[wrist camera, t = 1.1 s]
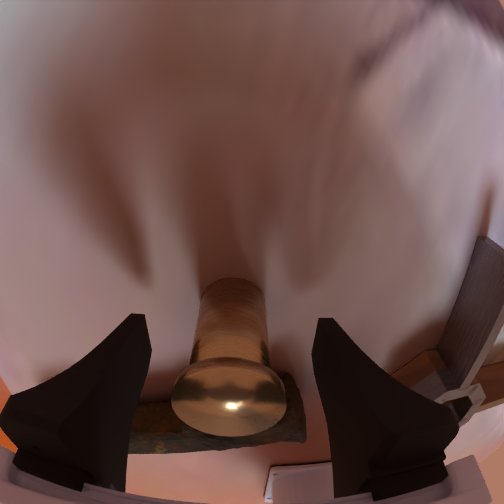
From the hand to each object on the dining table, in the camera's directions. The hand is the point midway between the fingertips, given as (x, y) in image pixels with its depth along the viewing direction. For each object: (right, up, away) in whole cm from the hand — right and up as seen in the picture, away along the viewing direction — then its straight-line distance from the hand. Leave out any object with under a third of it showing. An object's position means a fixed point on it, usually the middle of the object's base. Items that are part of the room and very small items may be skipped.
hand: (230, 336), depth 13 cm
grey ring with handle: (+13, -2, +4) cm, 14 cm away
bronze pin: (0, +1, +2) cm, 2 cm away
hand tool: (-5, -7, +6) cm, 11 cm away
